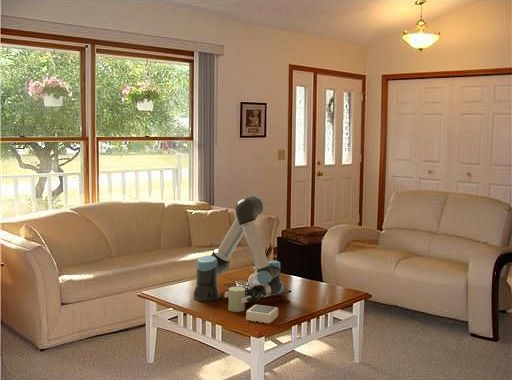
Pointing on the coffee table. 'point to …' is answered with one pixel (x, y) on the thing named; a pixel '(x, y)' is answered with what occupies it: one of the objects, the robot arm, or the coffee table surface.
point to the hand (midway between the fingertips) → (233, 297)
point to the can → (236, 299)
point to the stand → (262, 313)
